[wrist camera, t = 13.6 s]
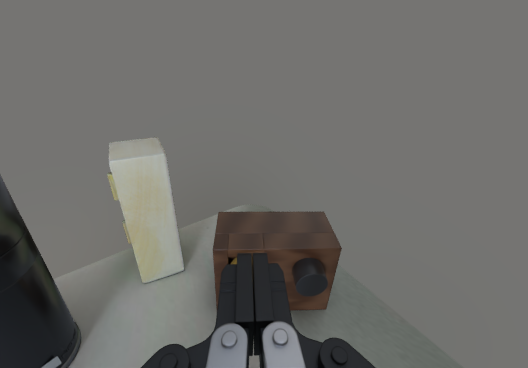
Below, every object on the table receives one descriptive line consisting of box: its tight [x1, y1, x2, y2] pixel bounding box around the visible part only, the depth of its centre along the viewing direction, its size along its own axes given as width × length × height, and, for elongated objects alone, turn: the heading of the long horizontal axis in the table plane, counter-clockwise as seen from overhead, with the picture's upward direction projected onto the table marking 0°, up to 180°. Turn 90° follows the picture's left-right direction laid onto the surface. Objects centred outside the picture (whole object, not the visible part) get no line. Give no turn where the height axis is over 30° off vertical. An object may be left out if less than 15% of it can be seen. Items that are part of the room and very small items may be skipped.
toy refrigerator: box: [107, 137, 184, 283], centre depth 39 cm, size 8×7×21 cm
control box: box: [213, 212, 342, 310], centre depth 36 cm, size 16×11×12 cm
